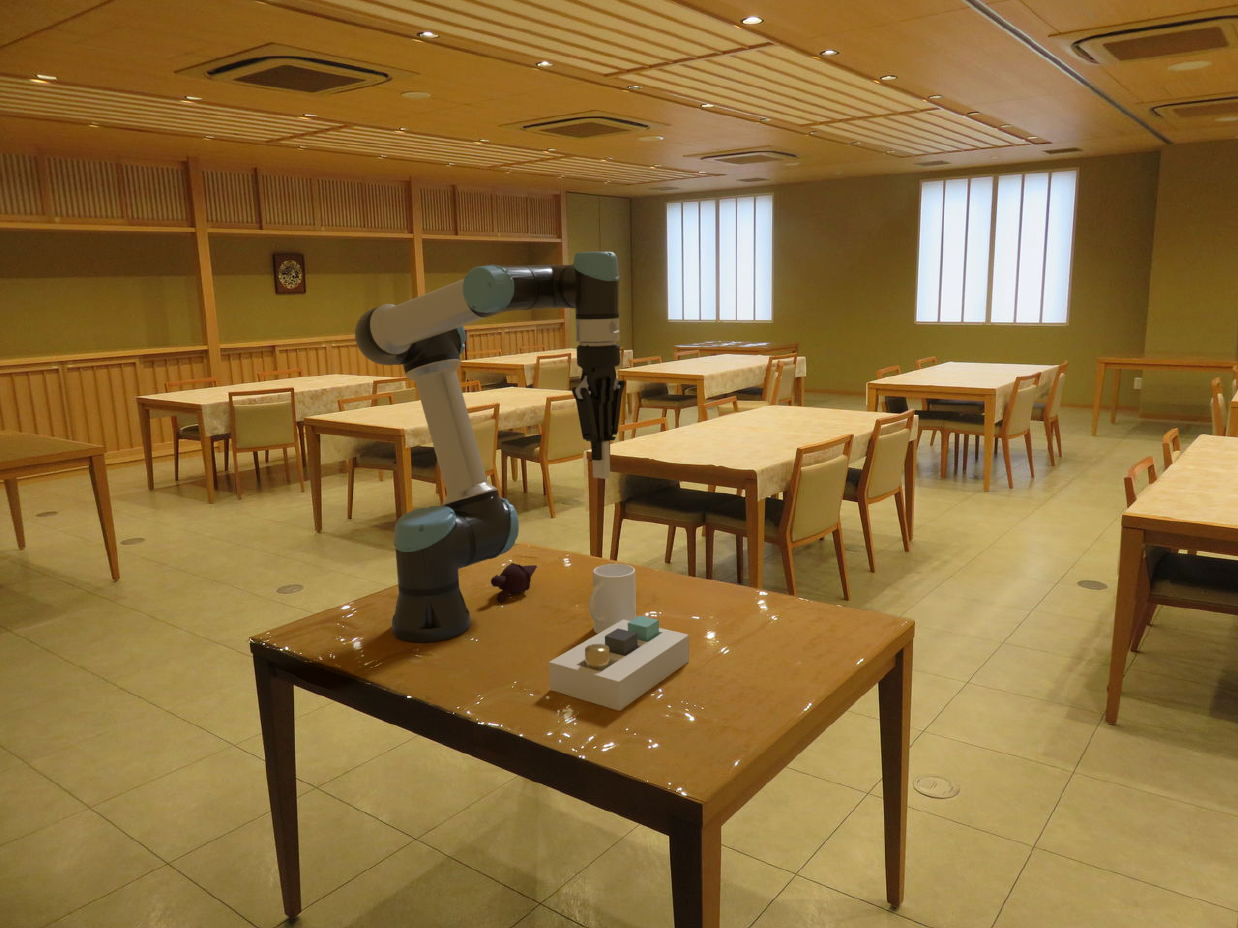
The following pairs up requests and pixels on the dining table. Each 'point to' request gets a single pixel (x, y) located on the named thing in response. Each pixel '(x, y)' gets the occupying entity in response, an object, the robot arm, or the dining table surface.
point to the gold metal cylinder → (597, 657)
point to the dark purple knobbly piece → (513, 580)
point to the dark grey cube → (621, 642)
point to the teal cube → (644, 628)
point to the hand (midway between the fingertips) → (601, 477)
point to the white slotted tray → (619, 669)
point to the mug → (612, 595)
